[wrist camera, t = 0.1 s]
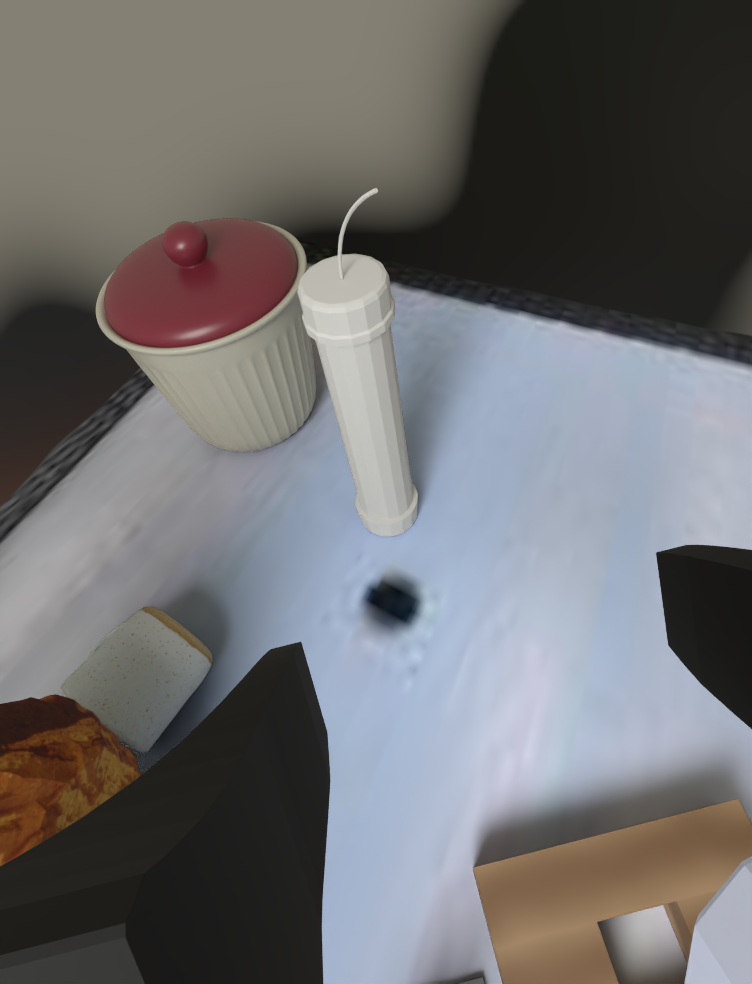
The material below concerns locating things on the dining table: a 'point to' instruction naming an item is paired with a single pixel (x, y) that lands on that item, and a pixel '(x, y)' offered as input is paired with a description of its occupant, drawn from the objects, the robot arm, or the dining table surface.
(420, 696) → the dining table surface
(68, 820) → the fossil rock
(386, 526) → the white tall cylinder
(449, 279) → the dining table surface
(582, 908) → the block
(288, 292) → the canister
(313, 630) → the dining table surface
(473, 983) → the mat
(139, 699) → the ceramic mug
